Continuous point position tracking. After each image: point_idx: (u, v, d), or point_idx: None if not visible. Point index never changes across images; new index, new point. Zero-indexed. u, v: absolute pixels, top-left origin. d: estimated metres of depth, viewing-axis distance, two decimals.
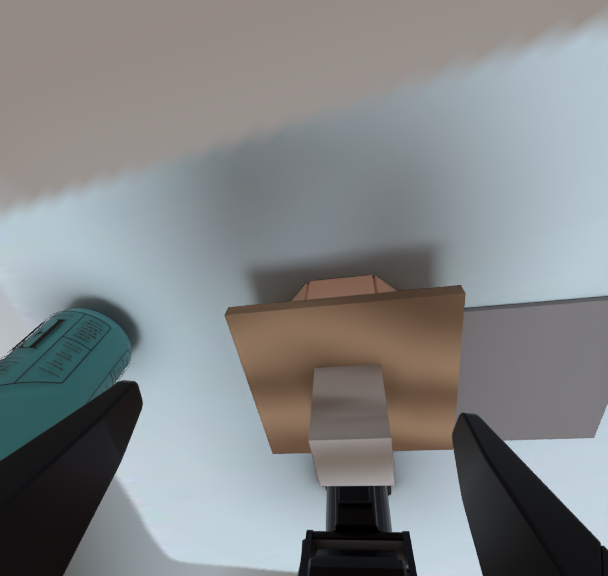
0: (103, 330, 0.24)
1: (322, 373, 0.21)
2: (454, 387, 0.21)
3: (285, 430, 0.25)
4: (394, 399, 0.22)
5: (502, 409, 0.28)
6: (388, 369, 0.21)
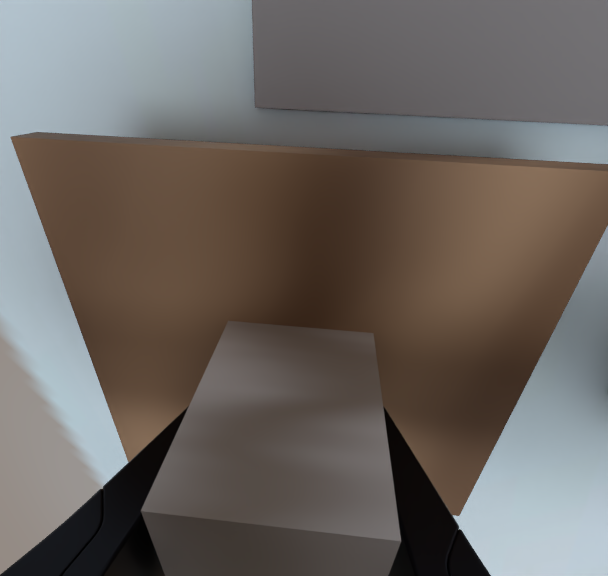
0: None
1: None
2: (322, 165, 0.07)
3: None
4: (344, 309, 0.09)
5: None
6: (245, 309, 0.09)
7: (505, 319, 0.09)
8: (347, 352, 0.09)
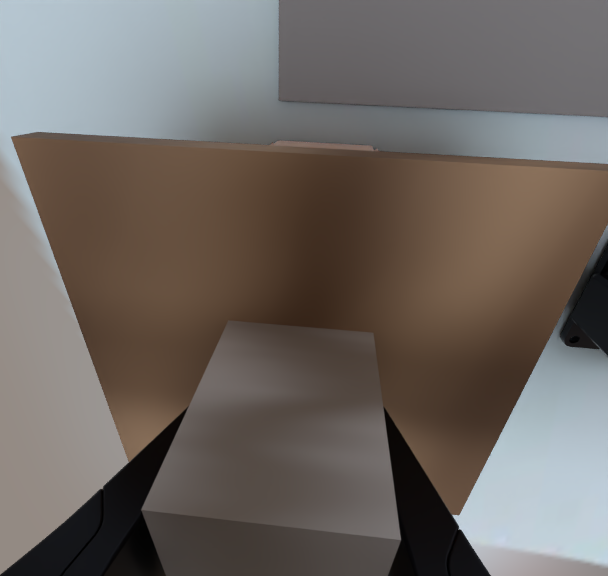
0: None
1: None
2: (322, 164, 0.07)
3: None
4: (344, 309, 0.09)
5: None
6: (245, 309, 0.09)
7: (505, 319, 0.09)
8: (347, 352, 0.09)
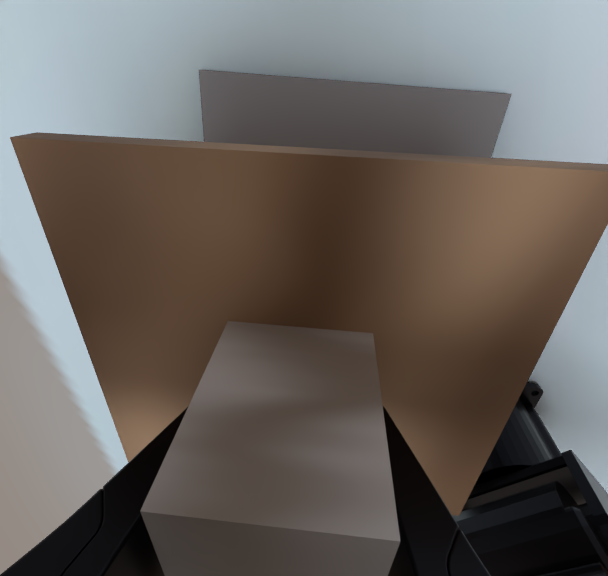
0: None
1: None
2: (322, 165, 0.07)
3: None
4: (343, 309, 0.09)
5: None
6: (244, 309, 0.09)
7: (504, 319, 0.09)
8: (347, 352, 0.09)
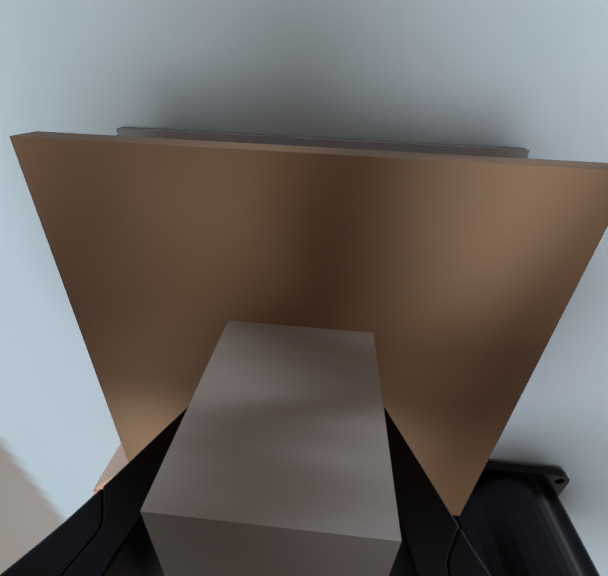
0: None
1: None
2: (322, 164, 0.07)
3: None
4: (344, 309, 0.09)
5: None
6: (245, 309, 0.09)
7: (505, 318, 0.09)
8: (347, 352, 0.09)
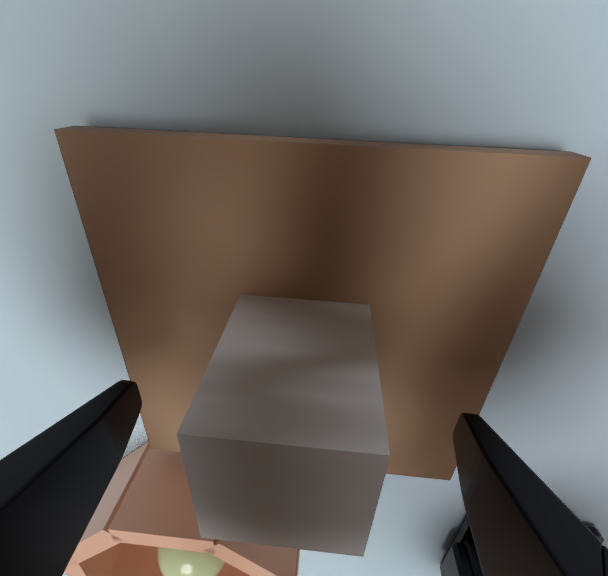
0: None
1: None
2: (324, 152, 0.09)
3: (392, 451, 0.14)
4: (343, 282, 0.10)
5: None
6: (255, 283, 0.11)
7: (486, 290, 0.10)
8: (346, 319, 0.10)
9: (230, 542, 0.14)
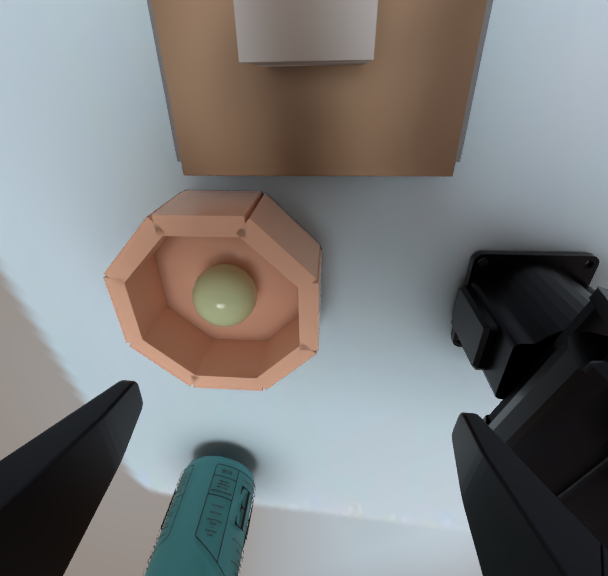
0: (190, 472, 0.28)
1: None
2: None
3: (398, 142, 0.16)
4: None
5: None
6: None
7: None
8: None
9: (258, 224, 0.16)
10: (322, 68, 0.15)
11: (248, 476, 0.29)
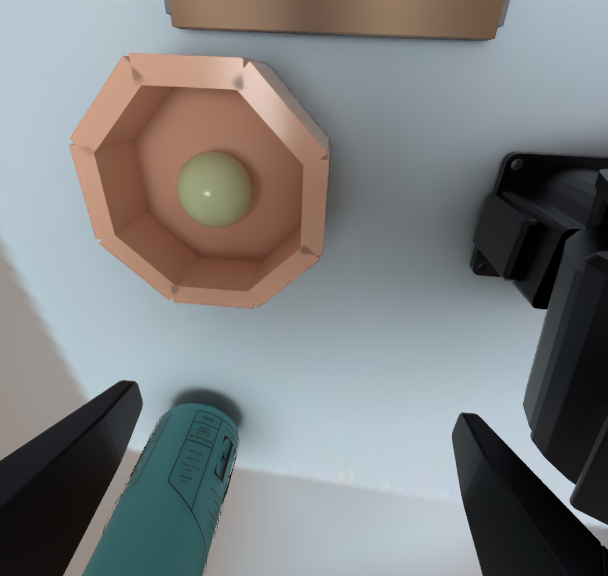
0: (167, 418, 0.25)
1: None
2: None
3: None
4: None
5: None
6: None
7: None
8: None
9: (260, 73, 0.13)
10: None
11: (232, 427, 0.26)
